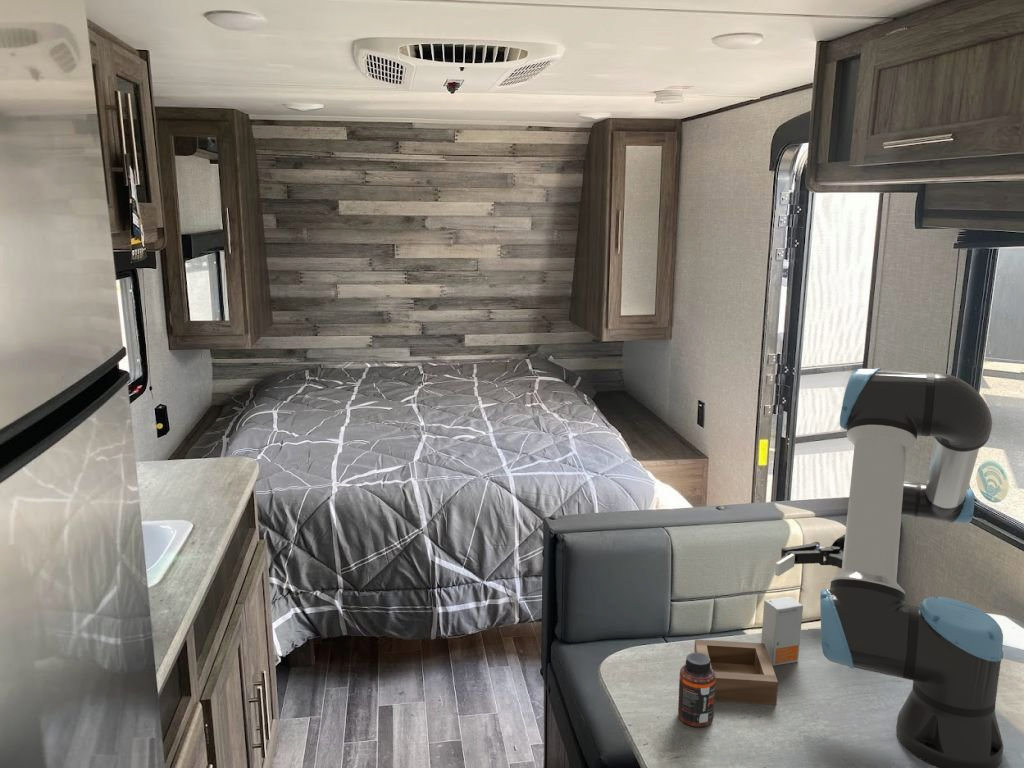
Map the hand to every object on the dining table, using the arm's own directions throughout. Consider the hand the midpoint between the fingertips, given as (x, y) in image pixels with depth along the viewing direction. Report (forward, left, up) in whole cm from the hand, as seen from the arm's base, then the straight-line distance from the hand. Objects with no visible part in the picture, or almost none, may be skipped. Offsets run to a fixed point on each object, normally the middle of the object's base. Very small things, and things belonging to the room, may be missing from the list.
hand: (808, 580), depth 157 cm
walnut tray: (-17, +16, -13) cm, 27 cm away
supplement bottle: (-29, +24, -13) cm, 40 cm away
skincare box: (-8, +6, -13) cm, 17 cm away
